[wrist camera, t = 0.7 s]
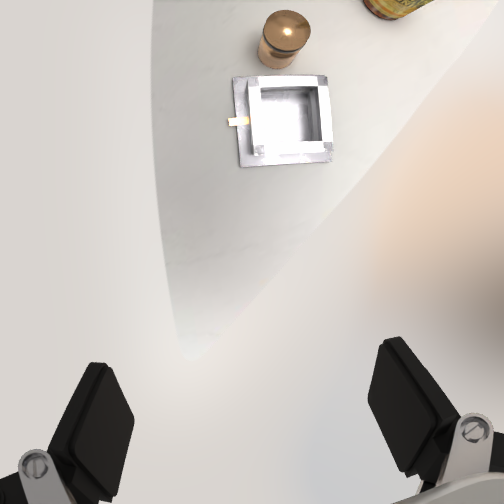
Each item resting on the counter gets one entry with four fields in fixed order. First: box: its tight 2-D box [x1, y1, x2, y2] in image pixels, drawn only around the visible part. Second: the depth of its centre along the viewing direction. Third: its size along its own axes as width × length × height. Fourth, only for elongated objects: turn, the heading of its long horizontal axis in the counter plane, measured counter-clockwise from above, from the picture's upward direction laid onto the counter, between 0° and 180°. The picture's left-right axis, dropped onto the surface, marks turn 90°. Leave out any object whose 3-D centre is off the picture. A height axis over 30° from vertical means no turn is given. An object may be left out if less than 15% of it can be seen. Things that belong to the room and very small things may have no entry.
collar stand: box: [229, 75, 333, 167], centre depth 28 cm, size 10×11×6 cm
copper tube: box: [258, 10, 311, 69], centre depth 25 cm, size 4×4×8 cm
